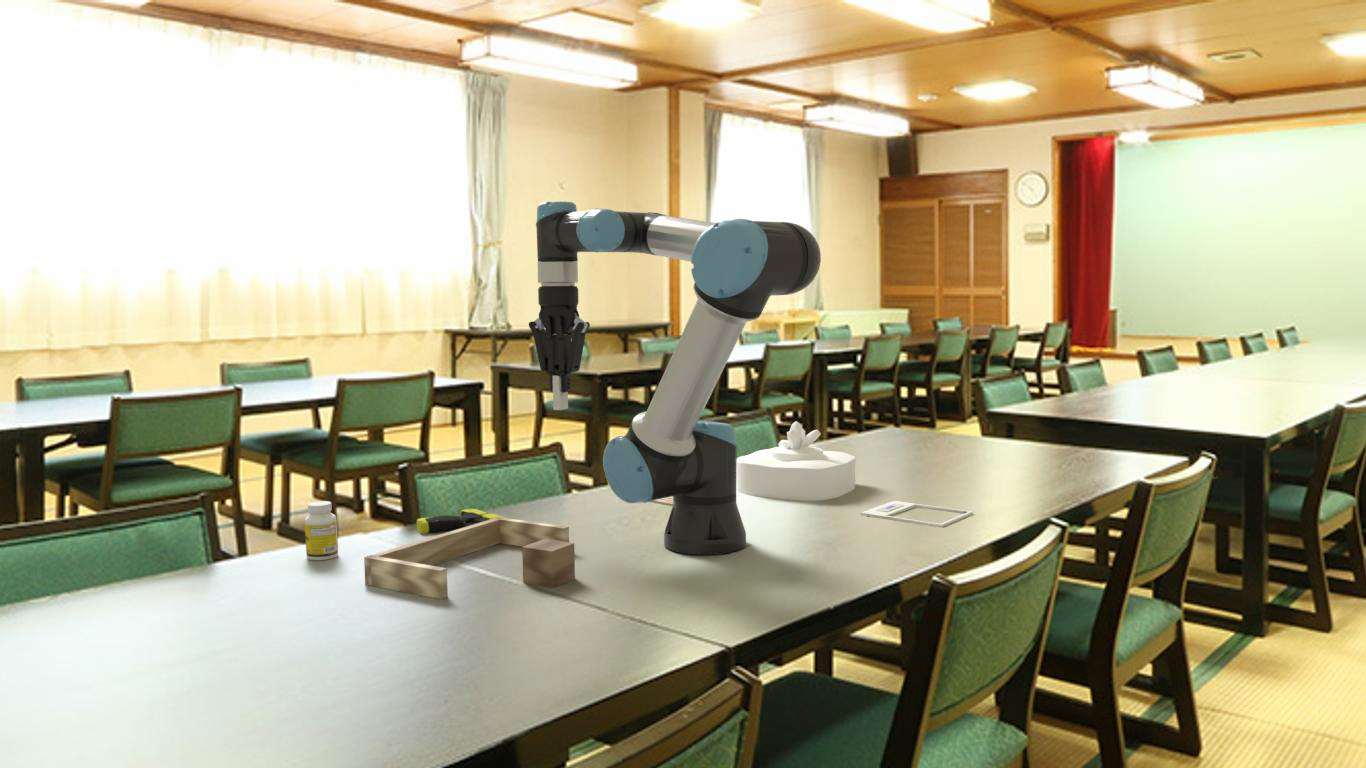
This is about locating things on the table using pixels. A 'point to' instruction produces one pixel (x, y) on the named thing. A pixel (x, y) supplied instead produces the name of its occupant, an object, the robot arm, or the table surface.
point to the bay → (449, 554)
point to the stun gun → (452, 521)
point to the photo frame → (897, 507)
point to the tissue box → (796, 470)
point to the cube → (548, 563)
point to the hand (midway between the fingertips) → (560, 409)
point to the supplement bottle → (321, 531)
